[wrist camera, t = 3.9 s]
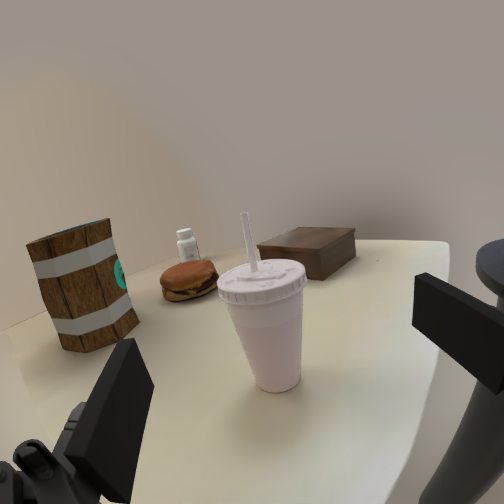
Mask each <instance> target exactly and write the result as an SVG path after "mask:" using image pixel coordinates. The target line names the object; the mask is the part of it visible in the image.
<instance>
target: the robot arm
mask: <svg viewBox="0 0 504 504" xmlns="http://www.w3.org/2000/svg"><path fill="white" fill-rule="evenodd" d="M412 326H414V327H415V328H416V329H417V330H419V331H420V332H421V333H422V334H424V335H425V336H426V337H427V338H429V339H430V340H431V341H432V342H434V343H435V344H436V345H437V346H438V347H440V348H441V349H442V350H443V351H445V352H446V353H447V354H448V355H449V356H451V357H452V358H453V359H454V360H455V361H457V362H458V363H459V364H460V365H461V366H463V367H464V368H465V369H466V370H467V371H468V372H470V373H471V374H472V375H473V376H474V377H476V378H477V379H478V380H479V381H480V382H481V383H482V384H484V385H485V386H486V387H487V388H488V389H489V390H490V391H492V392H493V393H494V394H495V395H497V394H499V393H500V392H501V391H502V390H504V312H502V310H500V309H498V308H496V307H494V306H491V305H488V304H486V303H484V302H482V301H480V300H479V299H477V298H475V297H473V296H471V295H469V294H467V293H465V292H464V291H461V290H460V289H458V288H456V287H454V286H452V285H450V284H448V283H446V282H444V281H442V280H440V279H438V278H436V277H434V276H432V275H430V274H428V273H423V274H419V275H416V276H415V282H414V303H413V317H412ZM153 390H154V384H153V382H152V380H151V377H150V375H149V373H148V370H147V368H146V366H145V363H144V361H143V359H142V356H141V354H140V351H139V349H138V346H137V344H136V341H135V339H134V338H129V339H121V340H119V341H118V342H117V344H116V346H115V348H114V350H113V352H112V354H111V355H110V357H109V359H108V361H107V363H106V365H105V367H104V369H103V371H102V373H101V375H100V376H99V378H98V380H97V382H96V384H95V386H94V388H93V390H92V392H91V394H90V396H89V398H88V401H87V402H81V403H80V404H79V405H78V406H77V407H76V408H75V409H74V410H73V411H72V412H71V414H70V416H69V418H68V420H67V421H68V422H66V424H65V426H64V430H62V433H61V435H60V437H59V439H58V441H57V443H56V445H55V447H54V450H53V452H52V453H51V452H50V451H49V450H48V449H47V448H46V446H45V445H44V444H43V443H42V442H41V441H39V440H35V439H30V440H27V441H24V442H23V443H21V444H20V445H19V446H18V447H17V448H16V449H15V452H14V454H13V462H14V463H15V464H17V466H18V467H19V468H20V469H21V470H22V471H16V470H15V469H14V468H13V467H12V466H11V465H10V464H9V463H7V462H5V461H0V504H101V503H100V502H99V500H100V496H101V494H102V495H103V496H104V497H105V498H106V499H107V500H108V501H110V502H115V503H123V504H130V501H131V495H132V489H133V484H134V478H135V473H136V468H137V462H138V457H139V452H140V448H141V443H142V438H143V433H144V429H145V424H146V420H147V415H148V411H149V407H150V403H151V399H152V394H153Z"/></svg>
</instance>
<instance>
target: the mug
mask: <svg viewBox="0 0 504 504" xmlns="http://www.w3.org/2000/svg"><path fill="white" fill-rule="evenodd" d="M26 247H27V250H28V252H29V255H30V258H31V260H32V262H33V266H34V269H35V273H36V276H37V279H38V283H39V287H40V291H41V295H42V298H43V301H44V303H45V306H46V308H47V310H48V312H49V314H50V316H51V318H52V321H53V323H54V325H55V328H56V330H57V332H58V336H59V339H60V342H61V345H62V348H63V349H65V350H71V351H77V352H83V353H87V352H90V351H93V350H95V349H98V348H101V347H104V346H107V345H109V344H112V343H115V342H118V341H119V340H121V339H123V338H124V337H125V336H126V335H127V334H128V333H129V332H130V331H131V330H132V329H133V328H134V327H135V326H136V325H137V324H138V323H139V320H138V318H137V316H136V313H135V311H134V309H133V307H132V304H131V301H130V298H129V295H128V291H127V287H126V282H125V277H124V272H123V270H122V267H121V265H120V262H119V259H118V256H117V254H116V250H115V246H114V243H113V238H112V233H111V224H110V218H106V219H102V220H98V221H94V222H90V223H86V224H83V225H80V226H76V227H73V228H70V229H67V230H64V231H60V232H57V233H54V234H52V235H49V236H46V237H44V238H41V239H38V240H35V241H33V242H31V243H29V244H27V245H26Z"/></svg>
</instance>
